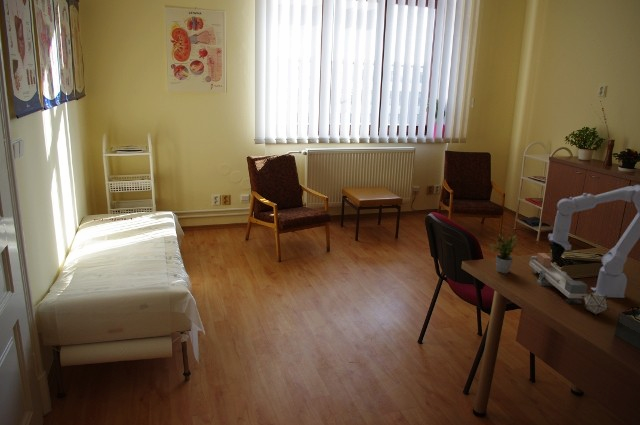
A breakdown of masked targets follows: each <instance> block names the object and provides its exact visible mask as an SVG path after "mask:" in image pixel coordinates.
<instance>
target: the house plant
mask: <svg viewBox="0 0 640 425" xmlns="http://www.w3.org/2000/svg"><path fill="white" fill-rule="evenodd" d="M498 236H499V238H500V241H499V240H498V239H497V238H495V237H491V236H490V238H492V240H495V242H496V244H497V245H494V244H488V245H489V246H490V247H492V249H491V253H492V252H498V253H500V254H496V255H495V271H496V272H498V273H502V274H508V273H509V272H510V269H511V268H512V267H511V266H512V263H513V260H514V258H513V257H512V254H513V253H516V252H517V253H521V251H519V250H516V251H514V249H515V248H517V246H518V242H519V239H518V240H517V239H516V237H517V235H513V236H512V237H511V236H509V237H508V239H507V240H505V238H504V237H503V236H502V235H501V234H500V233H498Z"/></svg>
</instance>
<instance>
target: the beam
mask: <svg viewBox="0 0 640 425" xmlns="http://www.w3.org/2000/svg"><path fill="white" fill-rule="evenodd" d="M536 259H537V255H533V256H532V255H531V256H530V260H529V262H528V265H529V266H530V267H531V268H532V269H535V270H536V271H537V272H538V273H540V271H544V272H545V277H544V280H548V281H549V282H550V283H551V284H553V285H554V286H553V287H555V288H556V289H557V290H559V291H560V292H561V293H562V294H563V295H564V296H565V297H567V299H584V298H583V297H582V296H584V297H585V296H587V295H589V294H588V293H587V289H588V284H587V283H585V282H584V281H583V280H574V279H572V277H570V276H569V275H568V274H567V275H566V274H565V273H563V272H562V271H563V270H560V269H559V268H558V267H557V266H555V264H553V263H552V262H551V265H550V269H549V268H545V267H543V266H542V265H541V264H540V263H538V262H537V261H536Z"/></svg>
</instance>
